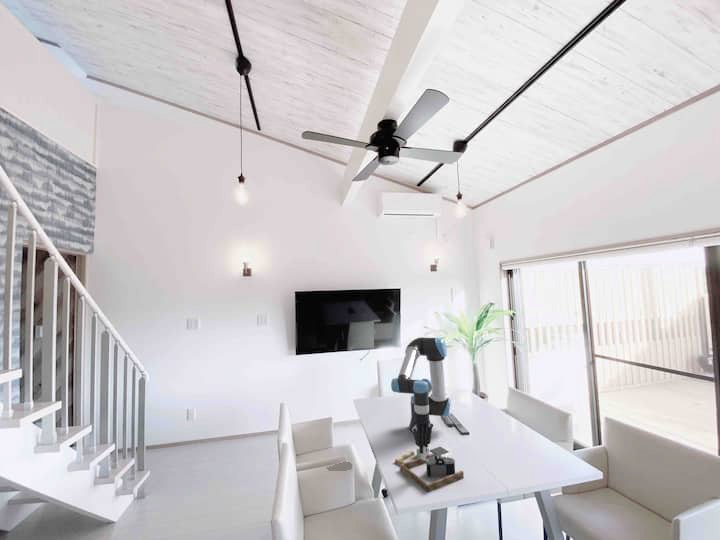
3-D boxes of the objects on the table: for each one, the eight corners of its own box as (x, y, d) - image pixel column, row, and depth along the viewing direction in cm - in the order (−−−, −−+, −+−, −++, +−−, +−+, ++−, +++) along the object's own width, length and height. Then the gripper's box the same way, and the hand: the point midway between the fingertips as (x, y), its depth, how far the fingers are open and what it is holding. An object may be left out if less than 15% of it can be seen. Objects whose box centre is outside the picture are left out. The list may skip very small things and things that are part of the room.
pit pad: (440, 447, 200) (440, 446, 200) (448, 452, 194) (448, 451, 194) (429, 450, 196) (429, 449, 196) (437, 455, 190) (437, 454, 190)
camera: (452, 467, 177) (451, 448, 178) (457, 477, 168) (456, 457, 169) (423, 469, 177) (422, 449, 178) (427, 478, 168) (426, 458, 169)
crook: (412, 454, 193) (411, 450, 193) (421, 458, 188) (420, 455, 188) (395, 462, 184) (395, 459, 184) (404, 467, 179) (404, 464, 179)
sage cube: (421, 454, 193) (421, 445, 193) (429, 456, 190) (428, 447, 190) (417, 457, 189) (416, 448, 189) (424, 460, 186) (424, 451, 186)
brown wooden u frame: (434, 458, 187) (433, 453, 187) (463, 477, 167) (463, 471, 168) (400, 470, 176) (400, 464, 176) (427, 492, 156) (427, 486, 157)
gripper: (426, 407, 178) (428, 452, 176) (407, 412, 172) (408, 459, 170) (436, 411, 171) (438, 458, 170) (416, 416, 165) (418, 465, 163)
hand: (423, 459), depth 170 cm, fingers closed
